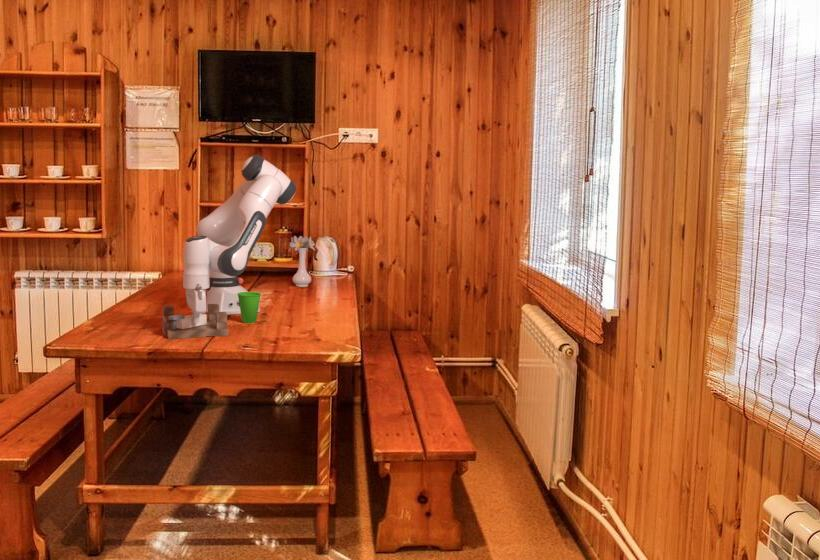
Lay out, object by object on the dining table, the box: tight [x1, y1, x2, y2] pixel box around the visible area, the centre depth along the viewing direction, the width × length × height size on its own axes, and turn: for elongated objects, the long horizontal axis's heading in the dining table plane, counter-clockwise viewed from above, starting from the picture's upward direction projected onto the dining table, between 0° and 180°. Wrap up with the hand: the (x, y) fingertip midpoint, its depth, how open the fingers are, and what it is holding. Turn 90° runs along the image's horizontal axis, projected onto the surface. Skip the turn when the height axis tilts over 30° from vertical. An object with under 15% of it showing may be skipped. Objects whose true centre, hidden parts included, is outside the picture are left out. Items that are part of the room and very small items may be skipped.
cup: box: [237, 291, 262, 324], centre depth 302 cm, size 9×9×11 cm
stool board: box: [161, 304, 229, 340], centre depth 283 cm, size 21×20×8 cm
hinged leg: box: [168, 313, 208, 329], centre depth 277 cm, size 15×4×5 cm, turn 149°
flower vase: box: [288, 235, 316, 288], centre depth 393 cm, size 13×18×25 cm
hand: (196, 322), depth 277 cm, fingers closed
